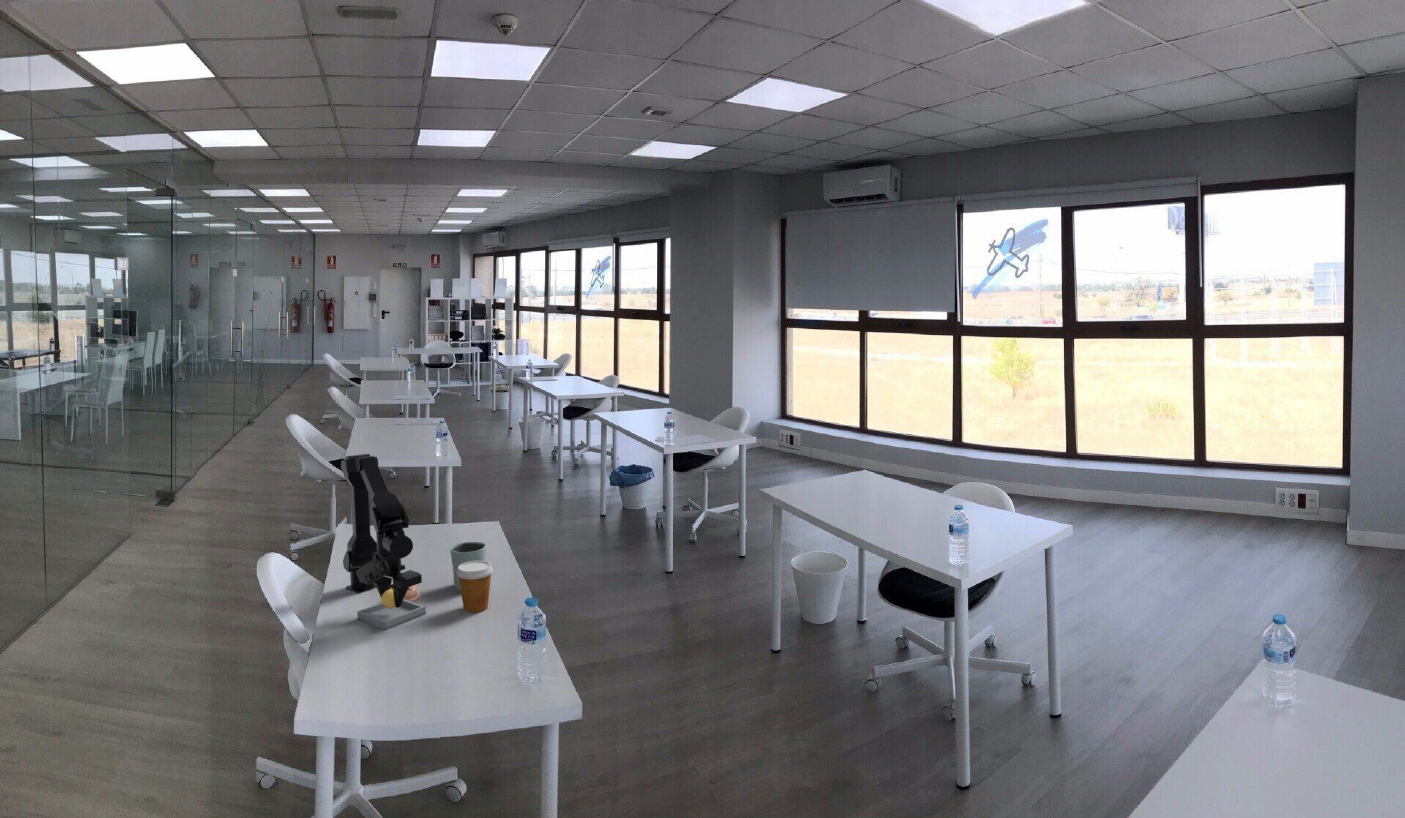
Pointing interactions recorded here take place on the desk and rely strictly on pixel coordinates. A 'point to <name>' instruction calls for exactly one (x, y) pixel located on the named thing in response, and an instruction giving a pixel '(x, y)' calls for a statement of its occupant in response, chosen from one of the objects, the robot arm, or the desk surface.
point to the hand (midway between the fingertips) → (391, 604)
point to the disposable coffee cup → (475, 585)
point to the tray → (391, 614)
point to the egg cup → (412, 594)
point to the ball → (388, 599)
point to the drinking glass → (466, 556)
